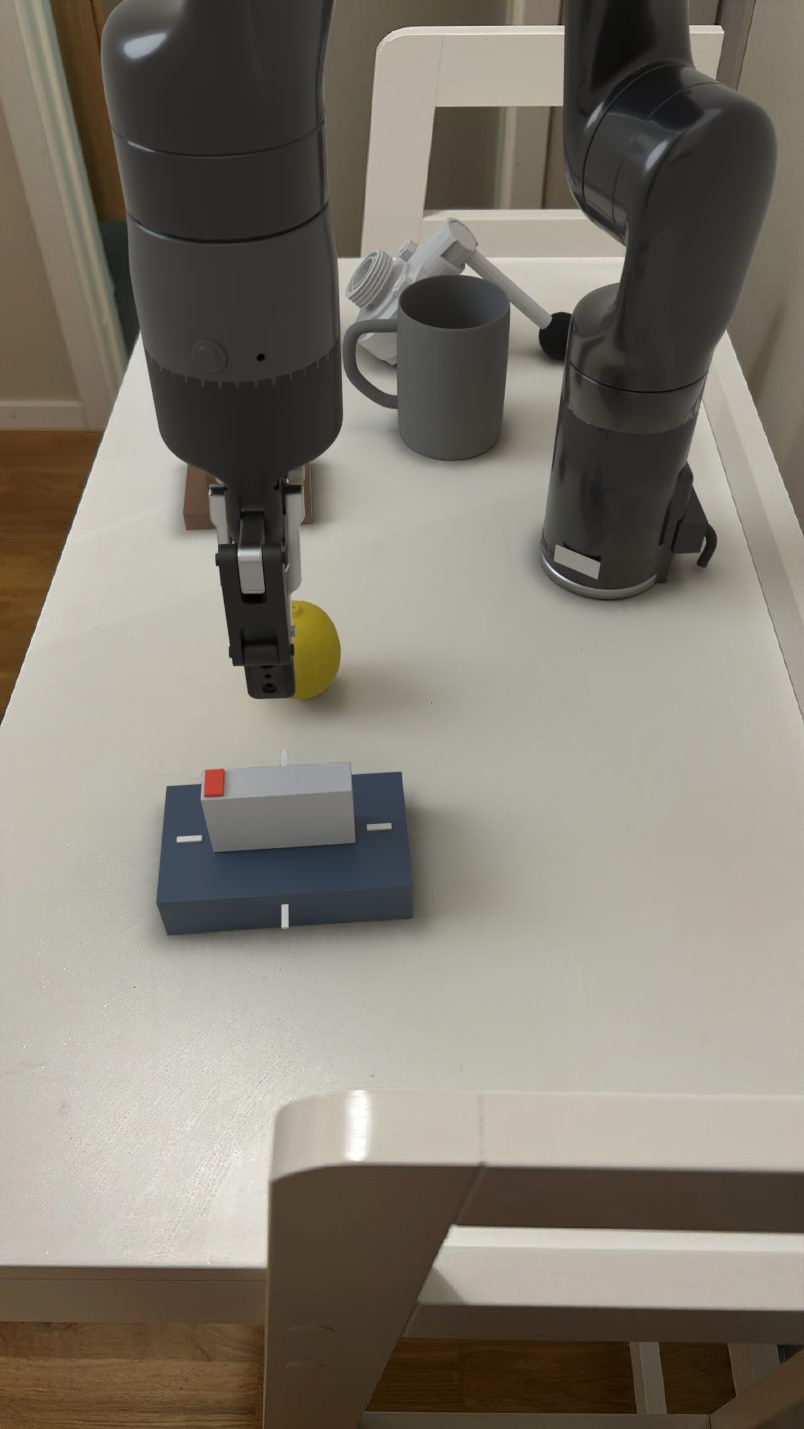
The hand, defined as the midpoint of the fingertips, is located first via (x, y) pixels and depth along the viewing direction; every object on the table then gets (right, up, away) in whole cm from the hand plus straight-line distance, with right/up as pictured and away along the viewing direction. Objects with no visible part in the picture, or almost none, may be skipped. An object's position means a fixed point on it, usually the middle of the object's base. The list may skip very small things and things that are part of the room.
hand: (274, 629), depth 52 cm
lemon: (0, -3, +20) cm, 20 cm away
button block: (-6, +14, +34) cm, 37 cm away
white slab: (0, -11, +8) cm, 14 cm away
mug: (+8, +20, +40) cm, 46 cm away
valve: (+12, +31, +49) cm, 59 cm away
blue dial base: (0, -13, +11) cm, 17 cm away
